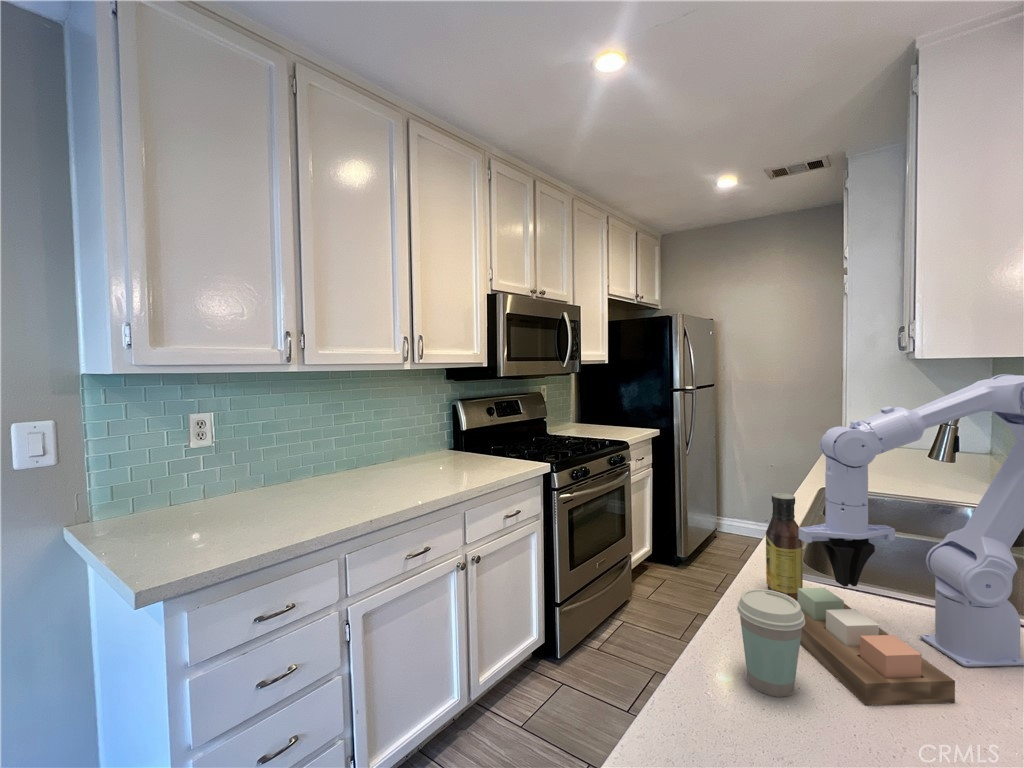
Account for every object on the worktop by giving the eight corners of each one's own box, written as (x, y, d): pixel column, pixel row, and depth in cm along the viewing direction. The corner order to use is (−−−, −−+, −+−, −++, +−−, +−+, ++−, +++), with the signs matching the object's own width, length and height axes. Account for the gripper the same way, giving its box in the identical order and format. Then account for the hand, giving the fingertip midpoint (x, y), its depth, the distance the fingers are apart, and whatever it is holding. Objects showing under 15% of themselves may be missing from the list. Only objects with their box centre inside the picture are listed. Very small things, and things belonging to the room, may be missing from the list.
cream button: (855, 633, 78) (855, 608, 78) (878, 651, 73) (878, 624, 73) (825, 634, 78) (825, 609, 77) (846, 651, 73) (847, 625, 73)
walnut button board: (840, 617, 86) (840, 600, 86) (954, 702, 64) (955, 680, 64) (774, 619, 86) (773, 602, 86) (865, 705, 64) (865, 683, 64)
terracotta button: (892, 661, 70) (892, 634, 70) (921, 683, 65) (921, 654, 65) (860, 662, 70) (860, 635, 70) (885, 684, 65) (886, 655, 65)
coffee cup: (815, 707, 64) (815, 618, 64) (746, 700, 66) (746, 613, 65) (792, 667, 72) (791, 589, 72) (731, 662, 74) (730, 585, 74)
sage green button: (824, 609, 85) (824, 587, 85) (843, 624, 80) (843, 600, 80) (797, 610, 85) (797, 588, 85) (815, 625, 80) (815, 601, 80)
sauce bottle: (773, 584, 100) (772, 488, 99) (807, 594, 95) (807, 494, 94) (760, 594, 95) (760, 495, 95) (795, 605, 91) (795, 501, 90)
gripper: (871, 493, 83) (871, 572, 83) (787, 495, 82) (787, 574, 83) (906, 505, 76) (905, 591, 76) (814, 507, 75) (814, 593, 76)
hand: (846, 583), depth 79 cm, fingers closed
